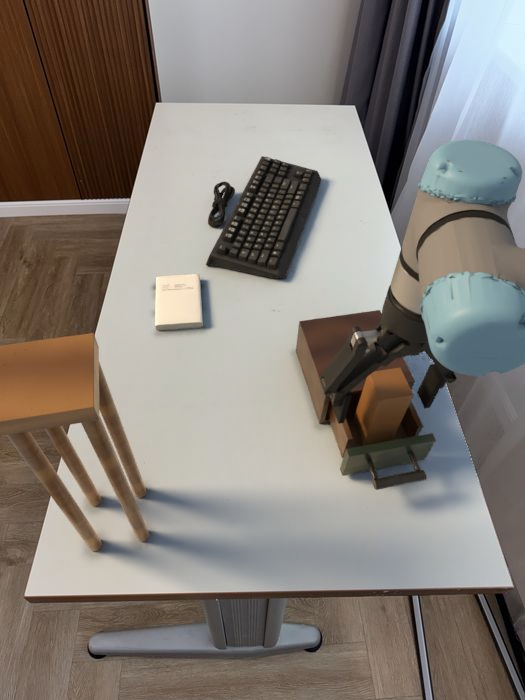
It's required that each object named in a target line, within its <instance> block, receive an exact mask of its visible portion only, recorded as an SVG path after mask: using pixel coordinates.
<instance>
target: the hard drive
mask: <svg viewBox="0 0 525 700" xmlns="http://www.w3.org/2000/svg"><path fill="white" fill-rule="evenodd" d="M154 304H155V305H154V306H155V307H154V308H155V309H154V310H155V311H154V312H155V313H154V314H155V315H154V327H155V330H156V331H159V332H160V331H176V330H189V329H199V328H200V329H201V328H203V327H204V319H203V317H204V316H203V306H202V305H203V304H202V287H201V274H199V273H192V274H191V273H190V274H175V275H159V276H156V277H155V303H154Z"/></svg>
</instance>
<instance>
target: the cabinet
mask: <svg viewBox="0 0 525 700" xmlns="http://www.w3.org/2000/svg"><path fill="white" fill-rule="evenodd" d="M381 318H382V310H380V309H377V310H369V311H363V312H362V311H361V312H356V313H348V314H347V313H346V314H341V315H333V316H327V317H320V318H313V319H306V320H299V322H298V328H297V337H296V343H295V344H296V346H295V353H296V357H297V359H298V364H299V366H300V369H301V371H302V374H303V379H304V381H305V384H306V388H307V391H308V394H309V396H310V400H311V403H312V406H313V409H314V412H315V415H316V419H317V421H318V425H321V424H326V423H330V421H329V418H328V415H327V409H328V405H329V400H330V395H325V394H324V392H323V389H322V386H321V383H320V380H319V376H320V375H321V374H322V372H323V371H324V370H325V369H326V367H327V366H328V365H329V363H330V362H331V361H332V359H333V358H334V357H335V356H336V354H337V353H338V352H339V350H340V349H341V348H342V347H343V345H344V344H345V343H346V341H347V340H348V337H349V333H350V330H351V329H352V328H353V327H355V326H359V327H360V328H361V330H362V332H364V331H372V330H374V329H375V328H376V326H377V325H378V324H379V323H380V322H381ZM381 349H382V347H381ZM382 351H383V353H384V355H385V354H387V353H386V352H385V351H384V350H383V349H382ZM394 368H401V370H402V372H403V374H404V376H405V378H406V380H407V382H408V384H409V387H410V389H411V390H412V389H413V387H414V385H415V383H416V380H415V378H414V376H413V374H412V372H411V370H410V368H409V365H408V364H407V362H406V360H405V357H401V358H396V359H395V360H393V361H392V362H391V363H390V364H388V365H387V366H380V367H379V368H378V369H376V370H375V371H381V370H387V369H394ZM375 371H374V372H375ZM366 378H367V377H366ZM366 378H365V379H364V380H363V381H361V382H360V383H359V384H358V385H356V386H355V387H354V388H353V389H351V390H350V392H351V394H352V395H353V394H359V393H362V391H363V388H364V385H365V381H366Z"/></svg>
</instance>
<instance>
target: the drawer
mask: <svg viewBox="0 0 525 700" xmlns="http://www.w3.org/2000/svg"><path fill="white" fill-rule="evenodd" d="M361 394H362V393H359V394H353V395H352V397H351V400H350V404H349V407H348V411H347V414H346V417H345V421H344V423H340V424H338V421H337V418H336V415H335V412H334V409H333V404H332V402H331V399H330V400H329V405H328V409H327V415H328V418H329V421H330V422H329V424H330V426H331V430H332V432H333V436H334V438H335V442H336V444H337V447H338V450H339V452H340V453H339V454H340V456H341V458H342V461H341V464H340V467H339V470H340V473H341V476H342V477H344V476H350V475H355V474H359V473H363V472H365V473H366V472H369V471H370V474H371V477H372V486H373V489H374V490H375V491H378V490H383V489H388V488H393V487H397V486H402V485H403V486H404V485H408V484H413V483H418V482H423V481H426V480H427V473H426V472H425V470H424V469H421V466H420V464H419V462H423V461H425V460H426V458H427V457H428V455H429V453H430V451H431V450H432V448H433V447H434V445H435V443H436V441H437V439H436V437H435V435H434V433H433V432H431V433H424V434H421V432H422V430H423V428H424V424H423V422H422V420H421V417H420V415H419V413H418V412H417V410H416V407H415V406H414V403H413V401H412V400H411V402H410V404H409V406H408V408H407V410H406V412H405V415H404V417H403V419H402V421H401V423H400V425H399V427H398V430H397V432H396V434H395V436H394V438H393V440H392V441H386V442H381V443H375V444H370V445H365V446H362V443H361V440H360V438H359V435H358V432H357V430H356V427H355V424H354V422H353V419H354V416H355V413H356V410H357V407H358V403H359V400H360V397H361ZM406 464H412V466H413V470H412V471H408V472H402V473H397V474H393V475H387V476H381V477H379V474H378V472H377V470H381V469H385V468H391V467H395V466H401V465H402V466H403V465H406Z"/></svg>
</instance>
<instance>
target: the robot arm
mask: <svg viewBox="0 0 525 700" xmlns="http://www.w3.org/2000/svg"><path fill="white" fill-rule="evenodd" d="M522 179H523V169H522V165H521V163H520V161H519V160H518V159H517V157H515V155H513V154H512V153H511V152H510V151H508V150H507V149H505V148H503V147H501V146H499V145H496V144H494V143H490V142H486V141H482V140H474V139H473V140H471V139H459V140H458V139H457V140H453V141H449V142H446V143H444V144H442V145H440V146H438V147H437V148H436V149H435V150H434V151H433V152H432V153H431V155H430V157H429V160H428V162H427V164H426V167H425V170H424V171H423V175H422V177H421V180H419V181H418V184H417V188H418V190H417V194H416V197H415V201H414V204H413V207H412V211H411V214H410V217H409V221H408V224H407V227H406V231H405V234H404V238H403V242H402V245H401V248H400V251H399V255H398V258H397V260H396V264H395V268H394V271H393V274H392V277H391V281H390V284H389V286H388V289H387V291H386V295H385V298H384V302H383V305H382V309H381V313H382V318H381V322H380V323H379V324H378V325H377V326H376V328H375V329H374V330H372V331H364V332H362V330H361V328H360V327H359V326H355V327H353V328H352V329H351V330H350V333H349V337H348V340H347V341H346V343H345V344H344V345H343V347H342V348H341V349H340V350H339V352H338V353H337V354H336V356H335V357H334V358H333V359H332V361H331V362H330V363H329V365H328V366H327V367H326V369H325V370H324V371H323V372H322V374H321V375H320V376H319V380H320V383H321V386H322V389H323V392H324V394H325V395H330V399H331V402H332V404H333V409H334V412H335V415H336V418H337V421H338V424H340V423H344V421H345V417H346V414H347V411H348V407H349V404H350V400H351V397H352V394H351V392H350V390H351V389H353V388H354V387H355V386H356V385H358V384H359V383H360V382H361V381H363V380H364V379H365V378H366V377H368V376H369V375H370V374H371V373H373V372H374V371H375V370H376V369H378V368H379V367H380V366H387V365H388V364H390V363H391V362H392V361H393V360H395V359H396V358H401V357H403V358H405V357H410V356H411V357H414V356H415V357H416V356H419V355H420V354H421V353H424V352H425V354H426V355H427V356H428V358H429V359H430V360H431V361H432V362H433V363H431V364H429V366H428V368H427V370H426V372H425V374H424V377H423V379H422V381H421V383H420V386H419V387H418V390H417V392H416V394H417V396H418V398H419V400H420V402H421V404H422V406H423V408H424V409H430V408H431V407H432V405H433V403H434V401H435V399H436V397H437V395H438V394H439V391H440V390H442V389H443V388H444V387H445V386H446V384H447V383H448V384H451V383H454V382H456V381H457V378H458V377H457V376H456V374H455V373H457V374H459V375H462V376H463V375H464V376H469V377H485V376H487V375H488V374H490V373H493V372H494V373H498V374H505V373H509V372H512V371H514V370H516V369H518V368H520V367H522V366H524V365H525V248H524V247H519V246H518V245H517V243H516V240H515V237H514V234H513V231H512V228H511V225H510V221H509V218H508V212H509V209H510V207H511V206H512V203H514V202H515V201H516V199H517V193H518V189H519V186H520V184H521V181H522ZM381 347H382V349H383V350H384V351H385V352H386V353H387V354H385V355H384V353H383V351H382V349H381Z"/></svg>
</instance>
